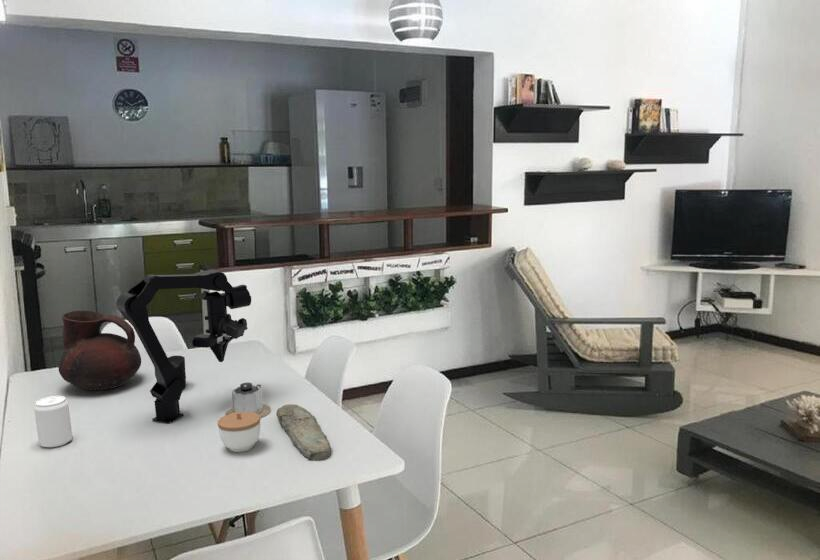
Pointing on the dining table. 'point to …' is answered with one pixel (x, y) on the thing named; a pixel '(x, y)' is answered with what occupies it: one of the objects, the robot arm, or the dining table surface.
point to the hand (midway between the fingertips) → (221, 361)
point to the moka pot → (249, 401)
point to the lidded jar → (239, 430)
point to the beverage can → (53, 421)
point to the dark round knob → (246, 387)
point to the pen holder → (179, 363)
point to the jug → (97, 352)
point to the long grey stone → (304, 431)
